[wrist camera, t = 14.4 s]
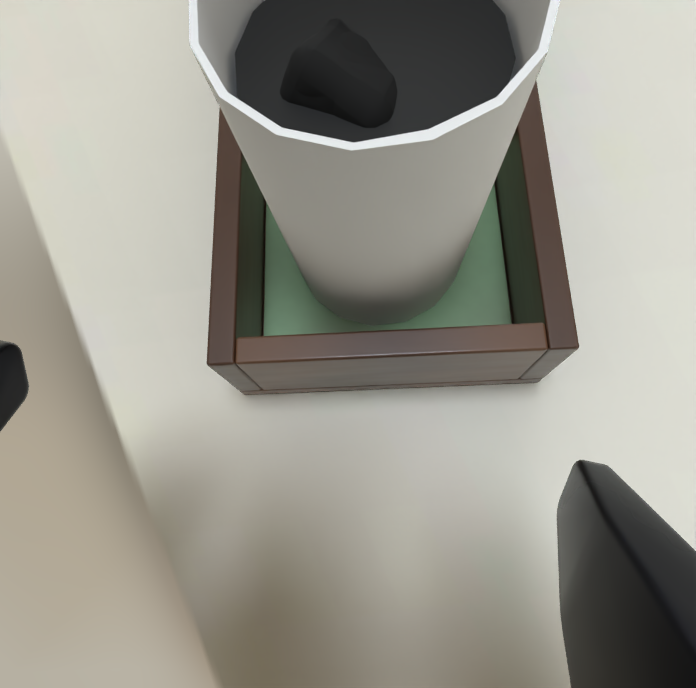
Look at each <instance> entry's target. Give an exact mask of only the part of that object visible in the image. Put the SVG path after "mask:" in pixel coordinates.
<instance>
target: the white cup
mask: <svg viewBox="0 0 696 688" xmlns="http://www.w3.org/2000/svg"><path fill="white" fill-rule="evenodd" d="M559 4H560V0H189V42H190V47H191V49H192V51H193V53H194V55H195V57H196V59H197V61H198V63H199V65H200V67H201V70H202V72H203V74H204V76H205V78H206V80H207V82H208V84H209V86H210V88H211V90H212V92H213V94H214V96H215V98H216V100H217V102H218V104H219V106H220V108H221V110H222V112H223V114H224V116H225V119H226V121H227V123H228V125H229V127H230V129H231V131H232V133H233V135H234V137H235V139H236V141H237V143H238V145H239V147H240V149H241V151H242V153H243V155H244V157H245V159H246V161H247V163H248V166H249V168H250V170H251V172H252V174H253V176H254V178H255V180H256V182H257V184H258V186H259V188H260V190H261V192H262V194H263V196H264V198H265V200H266V202H267V204H268V206H269V208H270V210H271V212H272V215H273V217H274V219H275V221H276V223H277V225H278V227H279V229H280V231H281V233H282V235H283V237H284V239H285V241H286V243H287V245H288V247H289V249H290V251H291V253H292V255H293V257H294V259H295V262H296V264H297V266H298V268H299V270H300V272H301V274H302V276H303V278H304V279H305V281H306V283H307V285H308V287H309V288H310V290H311V292H312V294H313V295H314V297H315V299H316V300H318V301H319V302H320V303H322V304H323V305H324V306H326V307H327V308H328V309H330V310H331V311H332V312H334V313H335V314H336V315H338V316H339V317H340V318H344V319H348V320H352V321H355V322H359V323H363V324H367V325H371V326H375V325H383V324H391V323H400V322H406V321H408V320H410V319H411V318H413V317H415V316H417V315H419V314H421V313H423V312H424V311H426V310H428V309H430V308H432V307H434V306H435V304H436V303H437V302H438V301H439V299H440V298H441V297H442V296H443V295H444V293H445V292H446V291H447V290H448V288H449V287H450V286H451V285H452V283H453V282H454V279H455V277H456V274H457V272H458V270H459V267H460V265H461V262H462V260H463V257H464V255H465V253H466V250H467V248H468V245H469V243H470V240H471V238H472V235H473V233H474V231H475V228H476V226H477V223H478V221H479V218H480V216H481V213H482V211H483V209H484V206H485V204H486V201H487V199H488V196H489V194H490V191H491V189H492V187H493V184H494V182H495V179H496V177H497V174H498V172H499V169H500V167H501V165H502V162H503V160H504V157H505V155H506V152H507V150H508V147H509V145H510V143H511V140H512V138H513V135H514V133H515V130H516V128H517V125H518V123H519V121H520V118H521V116H522V113H523V111H524V108H525V106H526V103H527V101H528V99H529V96H530V94H531V91H532V89H533V86H534V84H535V81H536V79H537V77H538V74H539V72H540V69H541V67H542V64H543V62H544V59H545V57H546V55H547V52H548V48H549V44H550V40H551V36H552V32H553V28H554V24H555V20H556V16H557V12H558V8H559Z"/></svg>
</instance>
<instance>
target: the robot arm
mask: <svg viewBox="0 0 696 688" xmlns="http://www.w3.org/2000/svg"><path fill="white" fill-rule="evenodd" d="M28 388H29V384H28V379H27V374H26V370H25V365H24V361H23V357H22V352H21V350H20V348H19V347H18V346H17V345H16V344H14V343H11V342H6V341H1V340H0V431H1V430H2V429H3V427H4V426H5V425H6V424H7V422H8V421H9V420H10V418H11V417H12V416H13V414H14V413H15V412H16V410H17V409H18V408H19V407H20V405H21V404H22V403H23V402H24V400H25V398H26V396H27V394H28ZM557 536H558V565H559V594H560V613H561V622H562V630H563V637H564V643H565V650H566V656H567V663H568V670H569V676H570V683H571V688H696V551H695V550H694V549H693V548H692V547H691V546H690V545H689V544H688V543H687V542H686V541H685V540H684V539H683V538H682V537H681V536H680V535H679V534H678V533H677V532H676V531H675V530H674V529H673V528H672V527H671V526H669V525H668V524H667V523H666V522H665V521H664V520H663V519H662V518H661V517H660V516H659V515H658V514H657V513H656V512H655V511H654V510H653V509H652V508H651V507H650V506H649V505H648V504H647V503H646V502H645V501H644V500H643V499H642V498H641V497H640V496H639V495H638V494H637V493H636V492H635V491H634V490H633V489H631V488H630V487H629V486H628V485H627V484H626V483H625V482H624V481H623V480H622V479H621V478H620V477H619V476H618V475H617V474H616V473H615V472H614V471H613V470H612V469H611V468H610V467H608V466H607V465H605V464H600V463H595V462H590V461H585V460H579V461H577V462H576V463H575V464H574V465H573V467H572V470H571V472H570V475H569V477H568V480H567V482H566V485H565V487H564V490H563V492H562V495H561V497H560V500H559V503H558V509H557Z"/></svg>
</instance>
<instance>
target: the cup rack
mask: <svg viewBox="0 0 696 688" xmlns="http://www.w3.org/2000/svg"><path fill="white" fill-rule="evenodd" d="M578 348H579V343H578V337H577V331H576V325H575V318H574V312H573V306H572V300H571V293H570V287H569V281H568V275H567V269H566V262H565V256H564V250H563V244H562V238H561V231H560V225H559V219H558V213H557V206H556V200H555V194H554V188H553V182H552V175H551V169H550V163H549V157H548V150H547V144H546V138H545V132H544V126H543V119H542V113H541V107H540V101H539V94H538V88H537V82H536V81H535V84H534V86H533V89H532V91H531V94H530V96H529V99H528V101H527V103H526V106H525V108H524V111H523V113H522V116H521V118H520V121H519V123H518V125H517V128H516V130H515V133H514V135H513V138H512V140H511V143H510V145H509V147H508V150H507V152H506V155H505V157H504V160H503V162H502V165H501V167H500V169H499V172H498V174H497V177H496V179H495V182H494V184H493V187H492V189H491V191H490V194H489V196H488V199H487V201H486V204H485V206H484V209H483V211H482V213H481V216H480V218H479V221H478V223H477V226H476V228H475V231H474V233H473V235H472V238H471V240H470V243H469V245H468V248H467V250H466V253H465V255H464V257H463V260H462V262H461V265H460V267H459V270H458V272H457V274H456V277H455V279H454V282H453V283H452V285H451V286H450V287H449V288H448V290H447V291H446V292H445V293H444V295H443V296H442V297H441V298H440V299H439V301H438V302H437V303H436V304H435V306H434V307H432V308H430V309H428V310H426V311H424V312H423V313H421V314H419V315H417V316H415V317H413V318H411V319H410V320H408V321H406V322H400V323H391V324H383V325H375V326H371V325H367V324H363V323H359V322H355V321H352V320H348V319H344V318H340V317H339V316H338V315H336V314H335V313H334V312H332V311H331V310H330V309H328V308H327V307H326V306H324V305H323V304H322V303H320V302H319V301H318V300H316V299H315V297H314V295H313V294H312V292H311V290H310V288H309V287H308V285H307V283H306V281H305V279H304V278H303V276H302V274H301V272H300V270H299V268H298V266H297V264H296V262H295V259H294V257H293V255H292V253H291V251H290V249H289V247H288V245H287V243H286V241H285V239H284V237H283V235H282V233H281V231H280V229H279V227H278V225H277V223H276V221H275V219H274V217H273V215H272V212H271V210H270V208H269V206H268V204H267V202H266V200H265V198H264V196H263V194H262V192H261V190H260V188H259V186H258V184H257V182H256V180H255V178H254V176H253V174H252V172H251V170H250V168H249V166H248V163H247V161H246V159H245V157H244V155H243V153H242V151H241V149H240V147H239V145H238V143H237V141H236V139H235V137H234V135H233V133H232V131H231V129H230V127H229V125H228V123H227V121H226V119H225V116H224V114H223V112H222V110H221V108H220V111H219V131H218V151H217V171H216V191H215V211H214V230H213V250H212V270H211V290H210V310H209V330H208V350H207V365H208V366H209V367H210V368H212V369H213V370H214V371H215V372H217V373H218V374H219V375H221V376H222V377H223V378H224V379H226V380H227V381H228V382H229V383H231V384H232V385H233V386H234V387H236V388H237V389H238V390H240V392H242V393H243V394H245V395H249V394H273V393H296V392H320V391H343V390H367V389H390V388H414V387H437V386H461V385H484V384H508V383H531V382H539V381H540V380H541V379H542V378H543V377H545V376H546V375H547V374H548V373H550V372H551V371H552V370H553V369H554V368H555V367H557V366H558V365H559V364H560V363H561V362H563V361H564V360H565V359H566V358H567V357H569V356H570V355H571V354H572V353H573V352H575V351H576V350H577V349H578Z"/></svg>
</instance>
